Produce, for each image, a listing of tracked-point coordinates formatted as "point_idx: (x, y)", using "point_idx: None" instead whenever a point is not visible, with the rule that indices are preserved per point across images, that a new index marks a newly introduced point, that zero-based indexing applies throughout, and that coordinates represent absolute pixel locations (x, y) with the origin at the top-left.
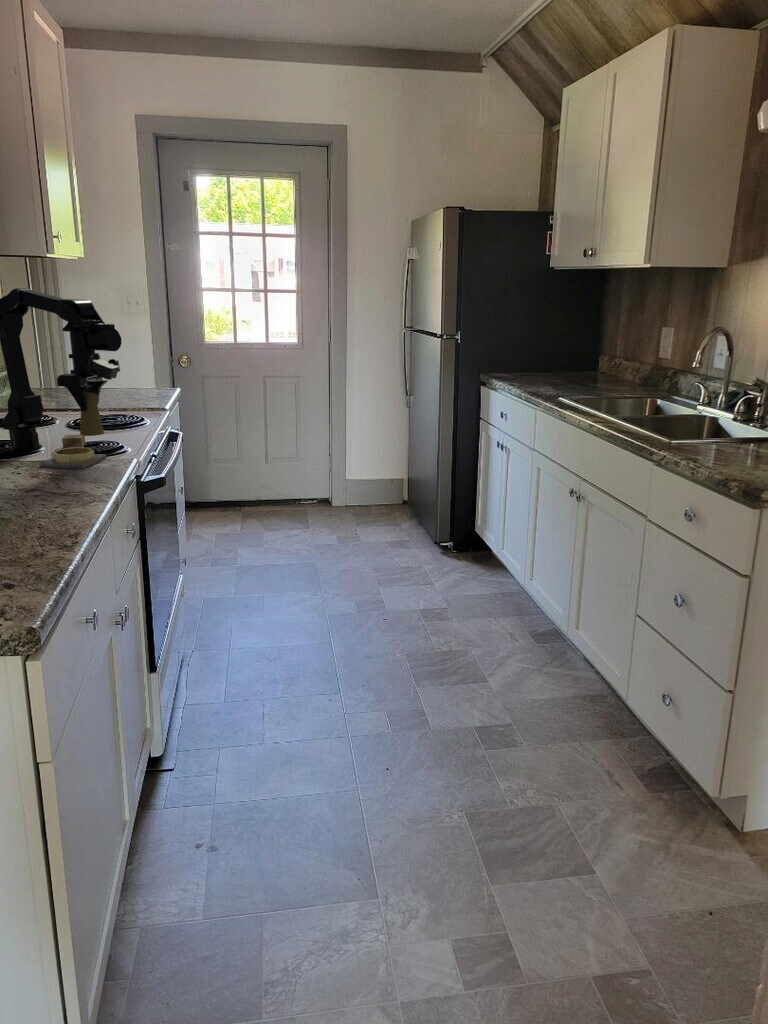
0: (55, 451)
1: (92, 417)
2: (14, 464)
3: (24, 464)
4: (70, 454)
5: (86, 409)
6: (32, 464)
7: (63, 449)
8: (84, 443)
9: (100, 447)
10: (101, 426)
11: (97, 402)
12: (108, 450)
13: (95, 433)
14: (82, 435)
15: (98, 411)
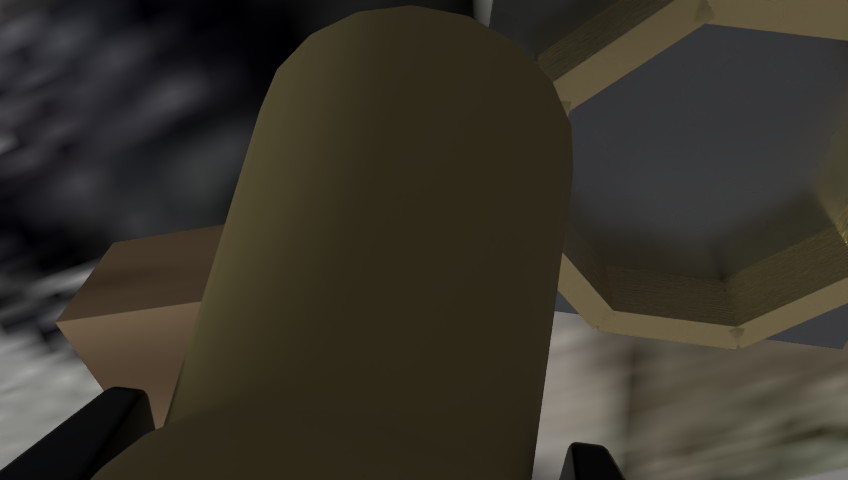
0: (713, 330)
1: (522, 259)
2: (714, 473)
3: (723, 428)
4: (571, 228)
5: (583, 461)
6: (730, 389)
7: (606, 301)
8: (130, 265)
9: (56, 135)
10: (394, 68)
11: (326, 428)
12: (141, 11)
13: (536, 84)
14: (105, 322)
15: (323, 259)
